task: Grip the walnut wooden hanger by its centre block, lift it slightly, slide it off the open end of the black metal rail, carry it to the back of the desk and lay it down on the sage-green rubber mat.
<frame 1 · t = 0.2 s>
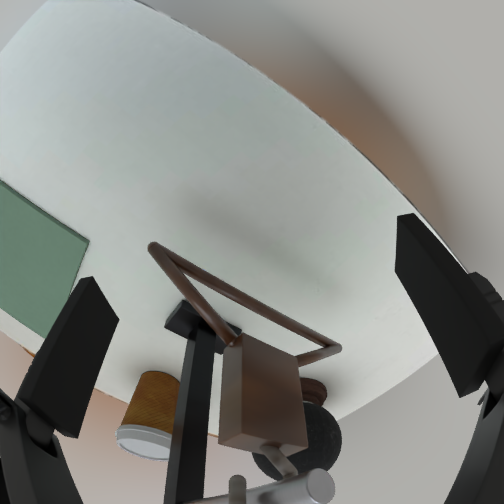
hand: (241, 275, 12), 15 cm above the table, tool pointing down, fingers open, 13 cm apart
rail: (257, 267, 31), on the table
black ball on stand: (291, 395, 45), on the table
hanger: (266, 499, 12), point 22 cm above the table, touching rail
disposable coffee cup: (160, 381, 42), on the table
mat: (20, 270, 31), on the table
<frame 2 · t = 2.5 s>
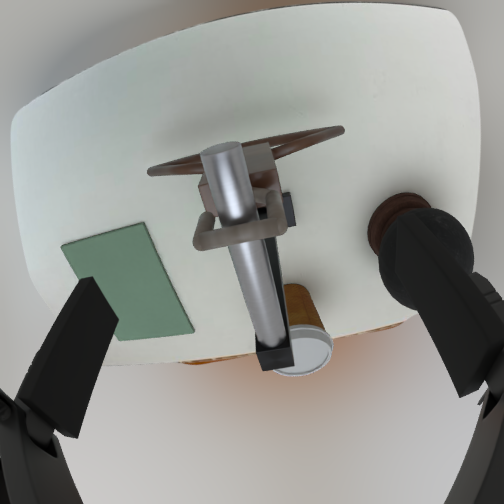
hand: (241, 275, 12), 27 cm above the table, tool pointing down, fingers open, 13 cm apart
rail: (244, 136, 34), on the table
black ball on stand: (400, 226, 41), on the table
hanger: (239, 219, 16), point 22 cm above the table, touching rail
disposable coffee cup: (290, 298, 48), on the table
mat: (128, 290, 47), on the table
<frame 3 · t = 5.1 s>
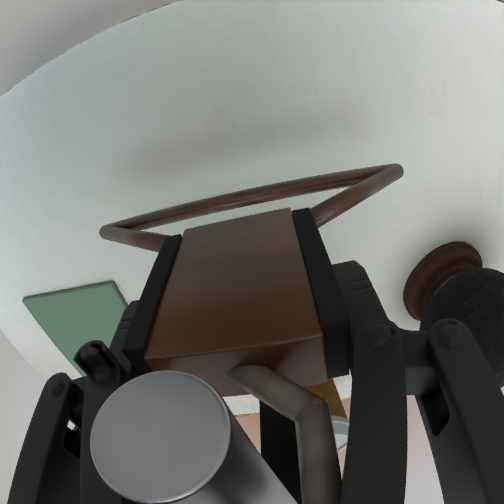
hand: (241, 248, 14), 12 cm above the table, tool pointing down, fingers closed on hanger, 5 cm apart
rail: (244, 169, 24), on the table
black ball on stand: (442, 281, 31), on the table
hanger: (236, 491, 5), point 22 cm above the table, touching gripper, rail
disposable coffee cup: (301, 363, 38), on the table
mat: (105, 351, 36), on the table
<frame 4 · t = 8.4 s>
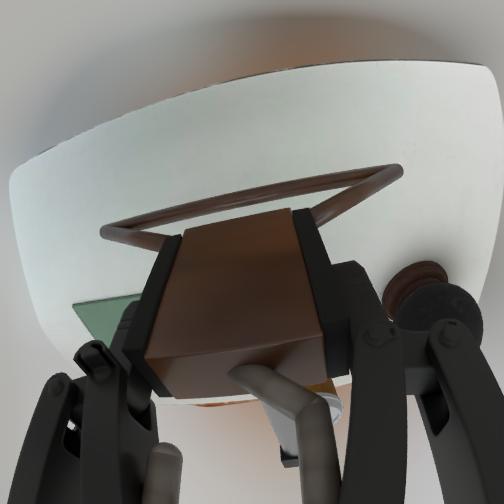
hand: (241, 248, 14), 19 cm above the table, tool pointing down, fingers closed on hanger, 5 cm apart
rail: (263, 213, 34), on the table
black ball on stand: (414, 291, 41), on the table
hanger: (236, 491, 5), point 29 cm above the table, touching gripper
disposable coffee cup: (302, 355, 48), on the table
mat: (142, 347, 47), on the table
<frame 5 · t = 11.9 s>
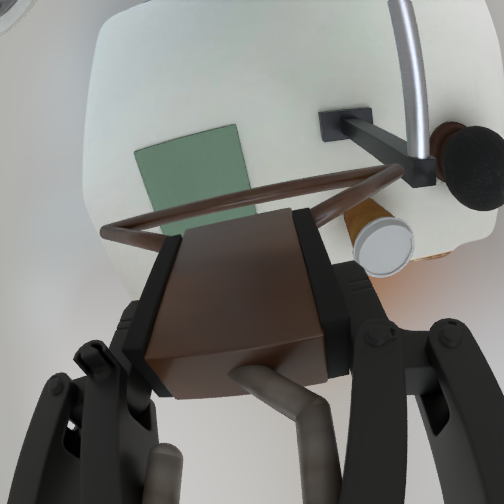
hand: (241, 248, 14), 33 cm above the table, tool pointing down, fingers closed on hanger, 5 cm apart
rail: (335, 56, 35), on the table
black ball on stand: (451, 151, 42), on the table
hanger: (237, 491, 5), point 43 cm above the table, touching gripper
disposable coffee cup: (361, 213, 49), on the table
mat: (201, 202, 48), on the table
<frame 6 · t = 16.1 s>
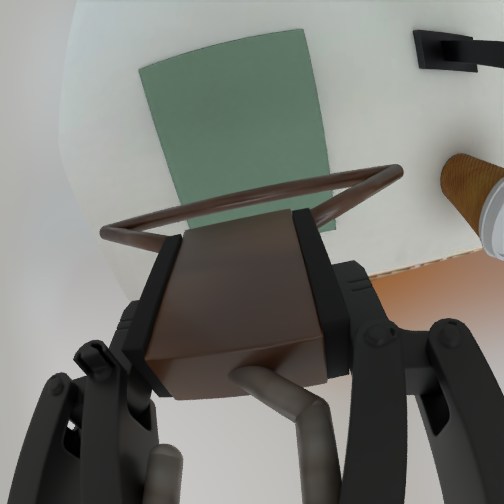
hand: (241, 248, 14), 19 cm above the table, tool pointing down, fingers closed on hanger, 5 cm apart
hanger: (237, 492, 5), point 29 cm above the table, touching gripper
disposable coffee cup: (458, 176, 31), on the table
mat: (244, 148, 29), on the table
when the fingers open (7 cm above the table, at t = 19.0 s): hanger drops 15 cm and tips over, resting on mat.
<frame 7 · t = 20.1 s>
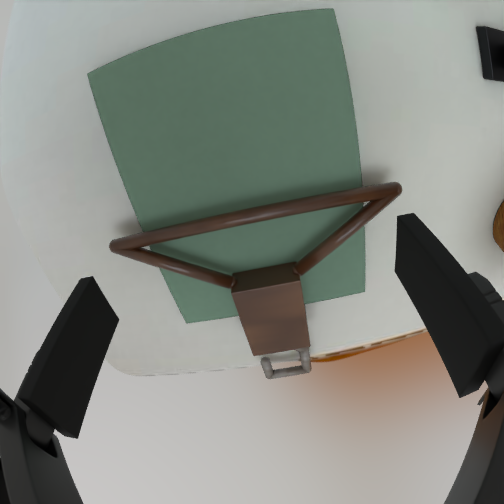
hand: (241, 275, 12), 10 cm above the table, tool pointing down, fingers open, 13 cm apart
hanger: (286, 363, 28), point 2 cm above the table, tilted 90°, touching mat
mat: (244, 186, 20), on the table
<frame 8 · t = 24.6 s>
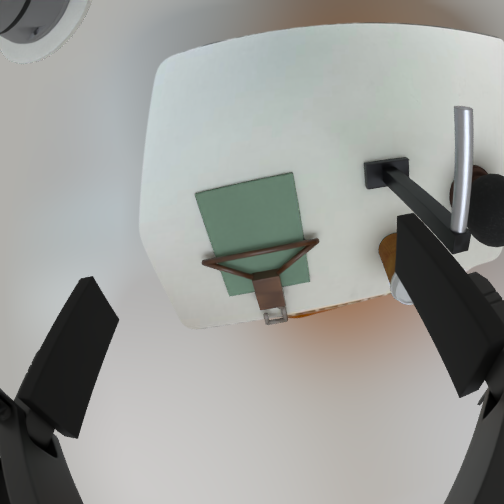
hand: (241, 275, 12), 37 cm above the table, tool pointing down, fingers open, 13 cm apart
rail: (380, 111, 41), on the table
black ball on stand: (469, 190, 48), on the table
hanger: (275, 316, 62), point 2 cm above the table, tilted 90°, touching mat
disposable coffee cup: (392, 246, 55), on the table
mat: (257, 240, 54), on the table
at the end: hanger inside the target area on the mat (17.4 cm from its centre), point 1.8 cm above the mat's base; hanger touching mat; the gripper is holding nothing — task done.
